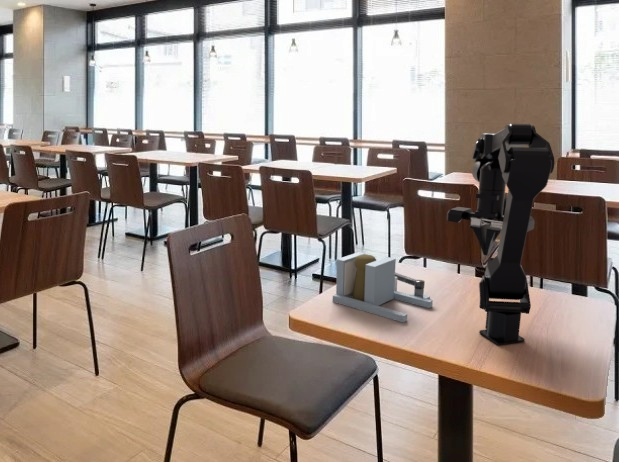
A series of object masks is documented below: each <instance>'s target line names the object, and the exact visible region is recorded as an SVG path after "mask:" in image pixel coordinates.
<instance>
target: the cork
mask: <svg viewBox="0 0 619 462" xmlns="http://www.w3.org/2000/svg"><path fill="white" fill-rule="evenodd" d="M374 261H377V258H376V257H375V256H374V255H372V254H365V255H359V256H357V257H356V259H355V266H356V268H357V271H356V277H355V283H354V289H353V295H352V297H351V298H353V299H356V300H360V301H363V302H364V295H365V267H366V264H369V263H371V262H374Z"/></svg>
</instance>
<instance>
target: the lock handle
mask: <svg viewBox="0 0 619 462" xmlns="http://www.w3.org/2000/svg"><path fill="white" fill-rule="evenodd" d="M395 277H397V281H399V282H402V283H405V284H408V285H411V286H414V289H415V288H417V289H423V288H424V289H425V280H422V279H416V278H413V277H411V276H410V277H409V276H407V275H404V274H400V273H398V272H395Z"/></svg>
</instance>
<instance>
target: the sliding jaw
mask: <svg viewBox="0 0 619 462" xmlns="http://www.w3.org/2000/svg"><path fill="white" fill-rule="evenodd" d="M396 261H397V260H396V258H395V257H389V256H385V257H383V258H380V259H376V261H374V262H371V263H369V264H366V267H365V295H364V302H367V303H370V304H374V305H377V306H382V305H383V304H385V303H387V302H389V301H392V300H395V299H394V285H395V273H396Z"/></svg>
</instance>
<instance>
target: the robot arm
mask: <svg viewBox="0 0 619 462" xmlns="http://www.w3.org/2000/svg"><path fill="white" fill-rule="evenodd" d="M524 146H527V147H524ZM471 158H472V159H473V160H472V161H473V162H475V164H474V165H473V167H472V169H471V175H472V177H473V179H474V180H475V181H476V182H478V183H479V185H478V192H477V193H476V195H475V199H477V208H476V210H475V211H474V212H473V208H470V207H462V206H456V207H453V208H450V209H448V211H447V213H446V221H447V222H453V223H460V222H461V221H462V220H467V221H470V225H468V226H469V227H468V228H469V229H472V230H473V232H474V235H475V237H476V238H477V240H478V243H479V245H480V249H481V251H482V253H483V255H484V256H486V257H487V256H489V255H490V253H491V251H492V249H493V246H494V245H495V242H496V240H497V238H498V237H499V235H500V237H499V242H498V243H499V244H498V246H497V247H498V248H497V254H496V256H495V257H489V258H488V260H486V267H485V272H484V275H482V277H481V279H480V281H479V282H478V289H479V309H480V310H481V309H482V310H484V312H486V317H485V329H480V330H478V331H479V334H480V335H482V336H483V337H485V338H487V340H489V341H491V342H492V343H494V344H495V345H496V346H497V345H498V346H503V345H508V344H509V345H510V344H516V343H524V342H525V341H526V338H524V337H522V336H521V335H520V327H521V326H520V325H521V318H522V314H527V315H529V314H530V311H531V306H532V305H531V297H530V290H529V285H528V284H529V283H528V279H527V275H526V272H525V271H524V269H523V266H522V259H523V255H524V249H525V244H526V241H527V235H528V232H530V231H532V230H534V229H535V223H536V222H535V219H534V218H533V216H531V215H532V210H533V205H534V203H535V202H534V200H535V198H536V197H537V196H538V195H539V194H540V193H541V192H542V191H543V190H544V189H545V188H546V187H547V185H548V182H549V178H550V176H551V174H553V172H554V169H555V156H554V152H553V149H552V146H551V143H550V142H549V141H548V140H546V139H545V138H544V137H542V136H541V135H540V134H539V133H538V132H537V130H536V127H535V125H534V124H533V125H532V124H530V123H509V124H506V125H505V126H504V128H503V129H501V130H499V131H498V132H483V133H482V134H481V135H480V137H478V139H477V141H476V142H475V144H474V148H473V151H472V155H471ZM506 187H507V189H508V191H507V193H506ZM491 299H492V300H491ZM500 300H501V301H500ZM502 300H511V301H502Z"/></svg>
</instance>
